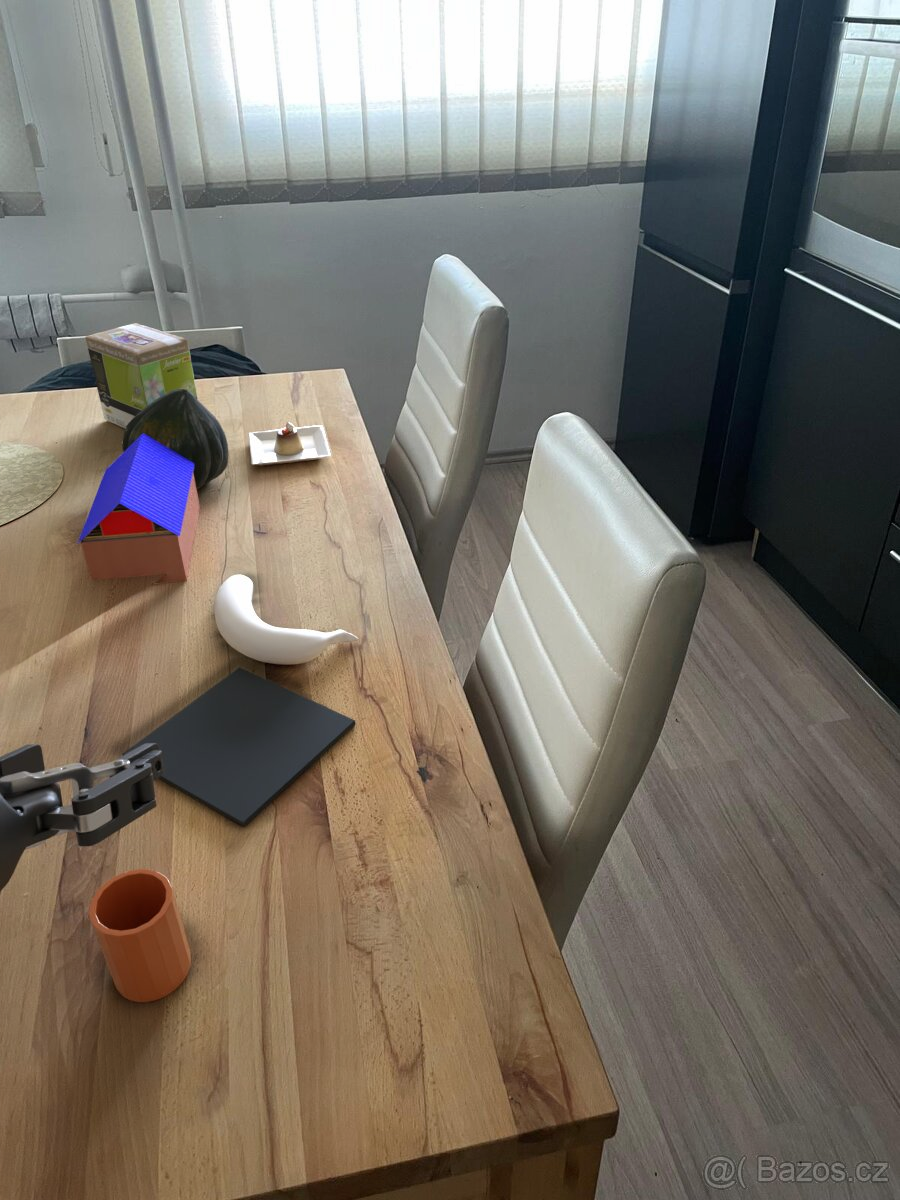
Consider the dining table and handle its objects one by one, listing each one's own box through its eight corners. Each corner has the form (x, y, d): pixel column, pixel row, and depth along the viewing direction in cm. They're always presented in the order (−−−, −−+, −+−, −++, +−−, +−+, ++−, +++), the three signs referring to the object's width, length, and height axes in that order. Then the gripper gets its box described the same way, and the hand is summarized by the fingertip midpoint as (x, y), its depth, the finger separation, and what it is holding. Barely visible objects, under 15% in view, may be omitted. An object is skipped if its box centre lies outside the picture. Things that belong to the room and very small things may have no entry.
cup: (98, 977, 69) (72, 911, 65) (156, 923, 73) (135, 857, 69) (149, 1016, 67) (126, 949, 62) (206, 958, 71) (188, 891, 66)
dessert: (252, 471, 140) (248, 442, 137) (249, 438, 149) (245, 411, 147) (331, 462, 142) (328, 433, 139) (322, 431, 152) (319, 403, 149)
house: (90, 590, 113) (66, 507, 107) (116, 512, 130) (97, 436, 123) (189, 582, 114) (171, 499, 108) (202, 505, 131) (188, 429, 124)
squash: (87, 465, 130) (136, 393, 122) (140, 427, 142) (188, 359, 134) (166, 532, 133) (220, 466, 125) (212, 488, 145) (263, 426, 137)
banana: (205, 594, 112) (321, 570, 116) (235, 693, 98) (366, 661, 102) (199, 561, 109) (318, 537, 113) (229, 658, 95) (364, 627, 99)
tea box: (204, 424, 154) (189, 337, 146) (153, 444, 148) (135, 354, 140) (152, 402, 163) (135, 319, 154) (102, 420, 156) (81, 334, 148)
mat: (123, 758, 89) (121, 753, 88) (240, 670, 100) (239, 666, 99) (243, 827, 81) (242, 822, 81) (355, 724, 92) (355, 720, 92)
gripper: (3, 795, 40) (189, 698, 56) (-250, 793, 44) (-9, 703, 59) (29, 953, 41) (204, 815, 57) (-220, 940, 45) (9, 813, 61)
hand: (96, 758), depth 58 cm, fingers open, 8 cm apart
